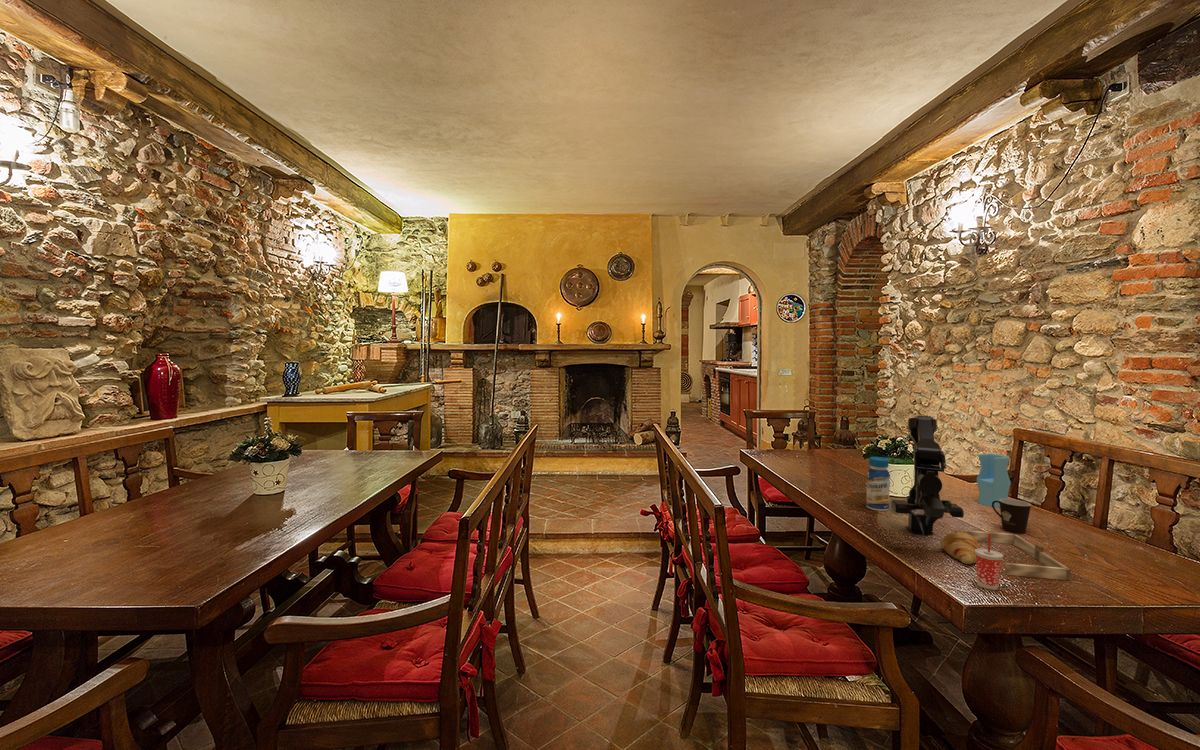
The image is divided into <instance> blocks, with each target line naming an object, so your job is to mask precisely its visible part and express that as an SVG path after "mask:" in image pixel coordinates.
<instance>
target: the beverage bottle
mask: <svg viewBox="0 0 1200 750" xmlns="http://www.w3.org/2000/svg"><path fill="white" fill-rule="evenodd" d="M889 463H890V462H889V458H887V457H882V456H871V457H869V459H868V465H869V468H868V470H867V472H866V476H867V478H866V479H865V482H866V498H865V499H866V501H865V506H866V508H868V509H870V510H873V511H878V512H884V511H889V509H890V487H891V481H890V478H891V474H890V471H889V470H888V468H889Z"/></svg>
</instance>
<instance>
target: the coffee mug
mask: <svg viewBox="0 0 1200 750" xmlns="http://www.w3.org/2000/svg"><path fill="white" fill-rule="evenodd" d="M995 502H998V503H999V504H1000V507H999V510H1000V513H999V511H997V510H996V509H997V508H994V503H995ZM1031 507H1032V504H1031V503H1029V502H1028V501H1024V500H1021V499H1020V500H1019V499H1012V498H1008V499H1000V500H999V501H993V502H992V507H991V508H992V509H993V511H994V512H995V514H996V515H997V516H999V518H1000V520H1001V522H1000V523H1001V529H1002V531H1005V532H1006V533H1009V534H1017V535H1024V534H1026V533H1027V527H1028V523H1029V522H1028V521H1029V516H1030V512H1031Z"/></svg>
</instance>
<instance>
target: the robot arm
mask: <svg viewBox="0 0 1200 750" xmlns="http://www.w3.org/2000/svg"><path fill="white" fill-rule="evenodd" d="M937 426H938V420H937V419H935V418H934V417H933V416H929V415H917V416H914V417H910V418H908V420H907V431H909V437H910V438H911V440H912V441H913V443H914V448H913V467H914V468H913V469H914V470H913V471H914V473H913V474H914V475H913V476H914V477H913V478H914V479H913V481H914V482H913V486H911V488H910V490H909V492H908V495H906V499H905V500H904V499H903V500H900V499H892V500H891V502H890V508H891V510H893V511H894V512H895V513H896V514H902V515H903V514H904V515H907V514H908V517H907V518H908V520H907V521H908V523H907V525H906V528H907V529H908V530H909V532H911V534H919V535H920V534H922V535H923V536H928V535H934V532H933V531H934V524H935V523H936V521H937V520H939V519H943V517H944V516H945V513H946V514H949V515H950V516H951V517H952V518H961V519H962V518H964V514H965V513H964V509H963V508H962V507H960V506H959V505H958V504H957V503H953V502H951V500H947V499H946V500H945V499H941V497H940V492H941V491H942V489H943V483H942V480H941V479H940V477H939V472H941V473H944V472H945V470H946V467H947V462H946V454H944V453H945V452H944V451H943V450H941V445H940V444H939V443H938V442H936V441H935V437H934V436H935V433H936V432H937V430H938V427H937Z"/></svg>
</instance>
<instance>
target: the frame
mask: <svg viewBox="0 0 1200 750" xmlns="http://www.w3.org/2000/svg"><path fill="white" fill-rule="evenodd" d="M963 532H966V533H967V534H969V535H971V536H973V537H974V538H975V539H976V540H977V541H978V542H980V543H981V542H984V543H988V534H991V540H990V543H994V544H1006V545H1009V544H1010V545H1014V546H1016V547H1017V548H1018V549H1020V550H1022V551H1023V552H1025V553H1026V554H1028V555H1029V556H1030V557H1031V558H1032V559H1034V560H1036V561H1038V562H1039V563H1040V564H1042V565H1034V564H1023V563H1012V562H1005V564H1004V565H1005V566H1004V567H1005V568H1004V569H1005V570H1004V573H1005V575H1006V576H1007V575H1008V576H1017V577H1018V576H1019V577H1029V578H1037V579H1038V578H1039V579H1051V580H1060V581H1061V580H1062V581H1071V577H1072V574H1071V573H1072V570H1071V568H1069V567H1068V566H1066V565H1064V564H1063V563H1061V562H1059V561H1058V560H1056V559H1055V558H1053V557H1052V556H1051V555H1049V554H1047V553H1046V552H1045V551H1044V549H1045V548H1044V546H1042V545H1041V544H1037V543H1036V544H1032V543H1031V542H1029V541H1027V540H1026V539H1024V538H1023V537H1021V536H1020V535H1019V534H1015V533H1007V532H1006V533H1005V532H1003V533H1002V532H991V531H978V530H963Z"/></svg>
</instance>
